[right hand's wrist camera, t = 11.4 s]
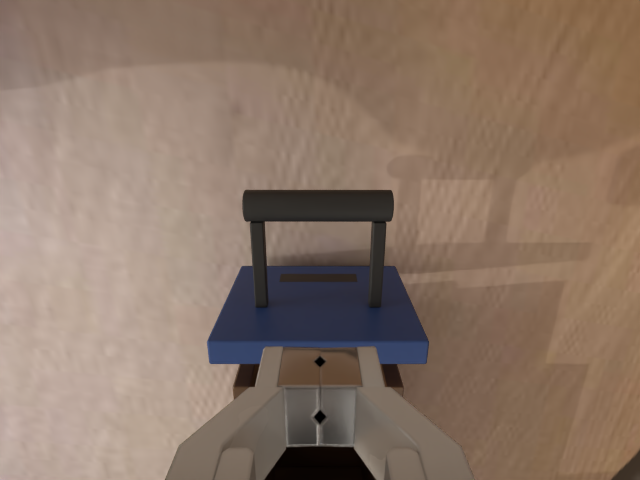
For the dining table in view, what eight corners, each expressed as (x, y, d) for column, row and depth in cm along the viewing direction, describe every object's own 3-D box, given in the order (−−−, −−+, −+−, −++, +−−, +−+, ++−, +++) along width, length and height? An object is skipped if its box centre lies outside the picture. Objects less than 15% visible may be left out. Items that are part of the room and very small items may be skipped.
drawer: (234, 171, 22) (190, 208, 14) (402, 171, 22) (445, 209, 14) (256, 460, 29) (234, 583, 22) (381, 460, 29) (401, 583, 22)
